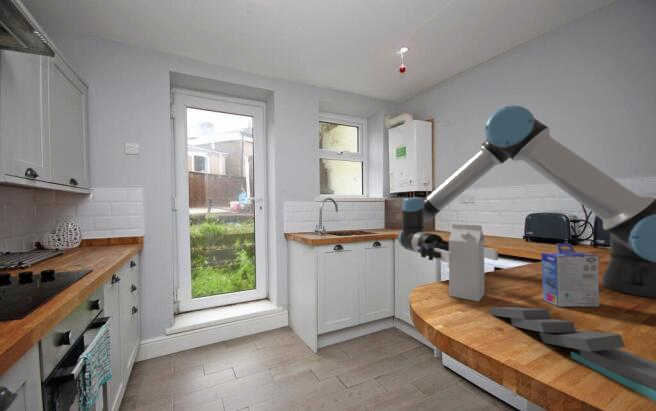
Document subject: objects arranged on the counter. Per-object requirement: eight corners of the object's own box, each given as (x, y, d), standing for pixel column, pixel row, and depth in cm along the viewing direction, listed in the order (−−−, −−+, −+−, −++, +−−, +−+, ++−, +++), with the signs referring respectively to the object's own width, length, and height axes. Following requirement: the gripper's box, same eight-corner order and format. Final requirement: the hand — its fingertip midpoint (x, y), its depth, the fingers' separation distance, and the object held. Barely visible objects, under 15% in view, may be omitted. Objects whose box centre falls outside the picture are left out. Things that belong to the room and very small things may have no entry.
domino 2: (510, 317, 55) (541, 322, 46) (536, 316, 55) (573, 321, 45) (512, 325, 55) (543, 332, 45) (538, 325, 54) (576, 332, 45)
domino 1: (490, 307, 60) (522, 310, 51) (512, 307, 61) (548, 309, 51) (491, 315, 60) (524, 319, 50) (514, 314, 60) (550, 318, 51)
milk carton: (456, 289, 78) (455, 223, 77) (484, 295, 73) (484, 224, 73) (449, 296, 72) (448, 225, 72) (479, 302, 68) (478, 226, 67)
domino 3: (539, 332, 49) (585, 339, 39) (567, 328, 49) (620, 334, 39) (542, 342, 48) (590, 351, 39) (571, 338, 48) (625, 346, 39)
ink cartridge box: (579, 299, 69) (579, 242, 69) (601, 307, 64) (600, 246, 64) (540, 299, 69) (540, 242, 69) (558, 307, 64) (558, 246, 64)
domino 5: (570, 351, 44) (657, 394, 34) (595, 348, 45) (686, 389, 35) (570, 361, 44) (657, 407, 34) (595, 357, 45) (686, 401, 35)
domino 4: (580, 347, 42) (681, 389, 32) (600, 341, 43) (701, 379, 34) (580, 357, 42) (681, 402, 32) (600, 351, 43) (701, 392, 34)
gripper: (461, 253, 93) (514, 268, 72) (393, 257, 88) (430, 273, 67) (460, 231, 93) (514, 240, 72) (393, 234, 88) (429, 243, 67)
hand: (474, 256), depth 70 cm, fingers open, 13 cm apart
